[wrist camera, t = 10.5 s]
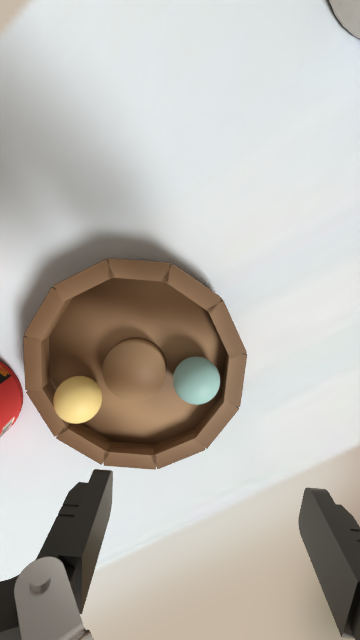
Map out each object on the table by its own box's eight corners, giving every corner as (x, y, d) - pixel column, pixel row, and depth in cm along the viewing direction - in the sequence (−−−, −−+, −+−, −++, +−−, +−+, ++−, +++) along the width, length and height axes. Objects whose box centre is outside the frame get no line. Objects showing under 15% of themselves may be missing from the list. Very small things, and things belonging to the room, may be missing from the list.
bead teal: (175, 348, 25) (173, 364, 22) (219, 352, 25) (225, 368, 22) (172, 389, 26) (169, 411, 23) (215, 393, 26) (220, 415, 23)
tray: (37, 251, 25) (19, 251, 22) (250, 268, 25) (258, 270, 22) (42, 440, 29) (28, 459, 26) (226, 455, 29) (230, 475, 26)
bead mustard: (64, 367, 26) (44, 386, 22) (107, 370, 26) (94, 390, 22) (64, 406, 27) (45, 431, 23) (106, 409, 27) (94, 435, 23)
